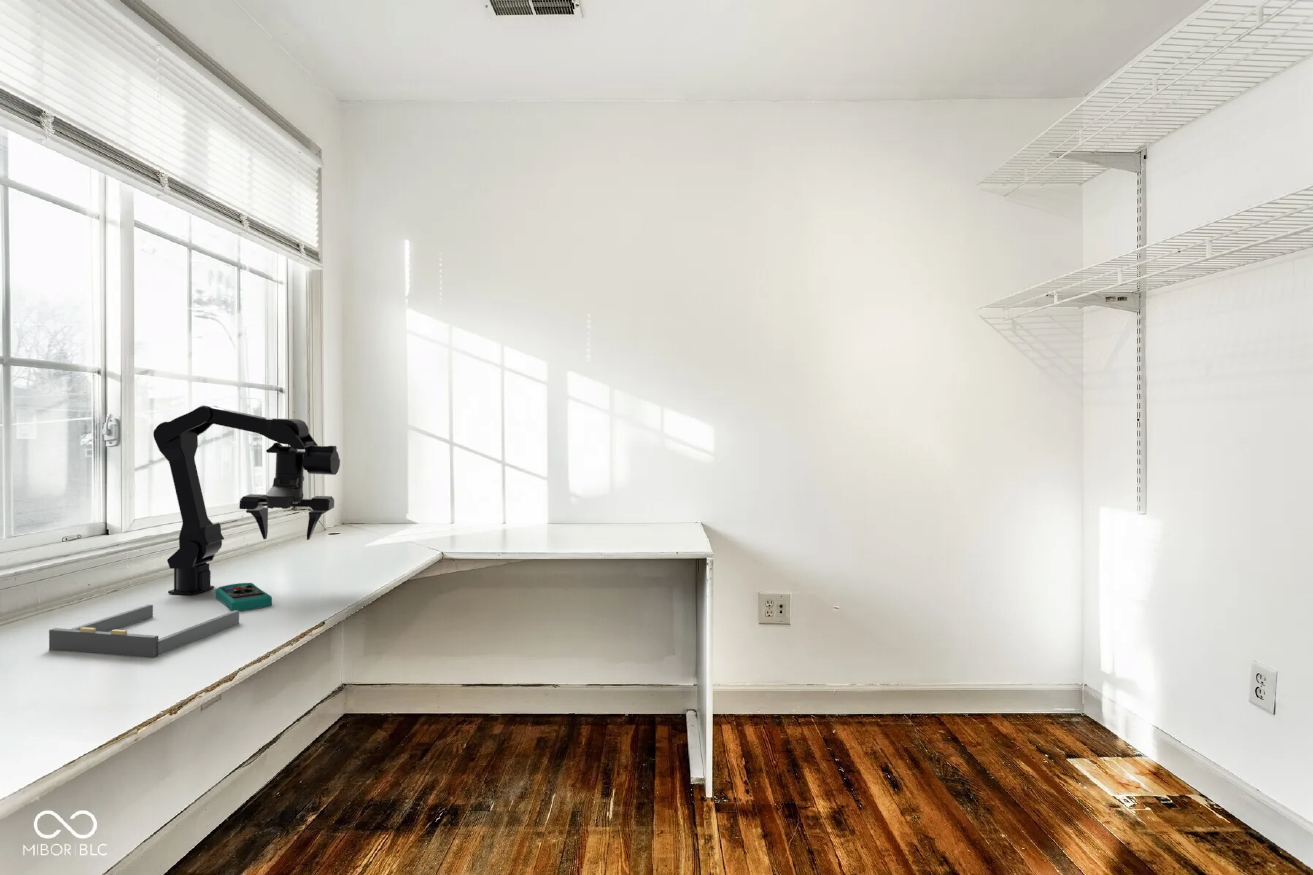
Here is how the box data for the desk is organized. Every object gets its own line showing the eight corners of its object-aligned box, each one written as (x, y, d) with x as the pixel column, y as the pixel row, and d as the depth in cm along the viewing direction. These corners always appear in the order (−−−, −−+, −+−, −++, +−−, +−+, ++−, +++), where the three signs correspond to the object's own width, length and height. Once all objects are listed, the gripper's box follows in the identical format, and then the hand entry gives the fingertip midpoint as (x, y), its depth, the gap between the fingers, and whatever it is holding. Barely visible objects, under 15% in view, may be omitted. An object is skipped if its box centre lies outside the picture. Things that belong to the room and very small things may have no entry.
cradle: (49, 649, 115) (49, 626, 115) (148, 616, 134) (148, 596, 134) (153, 657, 112) (153, 634, 112) (239, 622, 132) (239, 602, 132)
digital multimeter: (253, 593, 155) (253, 580, 154) (272, 608, 144) (272, 594, 144) (214, 599, 149) (214, 585, 149) (232, 614, 138) (232, 600, 138)
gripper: (231, 474, 145) (228, 545, 145) (324, 477, 149) (321, 546, 149) (249, 470, 155) (247, 536, 156) (336, 473, 160) (333, 537, 160)
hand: (286, 539), depth 155 cm, fingers open, 9 cm apart
